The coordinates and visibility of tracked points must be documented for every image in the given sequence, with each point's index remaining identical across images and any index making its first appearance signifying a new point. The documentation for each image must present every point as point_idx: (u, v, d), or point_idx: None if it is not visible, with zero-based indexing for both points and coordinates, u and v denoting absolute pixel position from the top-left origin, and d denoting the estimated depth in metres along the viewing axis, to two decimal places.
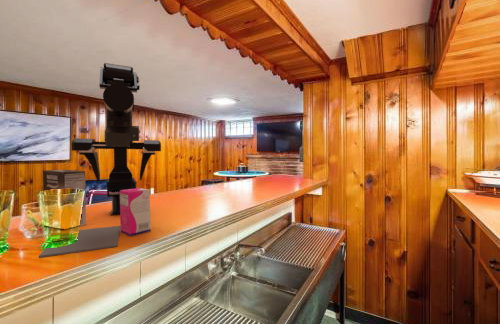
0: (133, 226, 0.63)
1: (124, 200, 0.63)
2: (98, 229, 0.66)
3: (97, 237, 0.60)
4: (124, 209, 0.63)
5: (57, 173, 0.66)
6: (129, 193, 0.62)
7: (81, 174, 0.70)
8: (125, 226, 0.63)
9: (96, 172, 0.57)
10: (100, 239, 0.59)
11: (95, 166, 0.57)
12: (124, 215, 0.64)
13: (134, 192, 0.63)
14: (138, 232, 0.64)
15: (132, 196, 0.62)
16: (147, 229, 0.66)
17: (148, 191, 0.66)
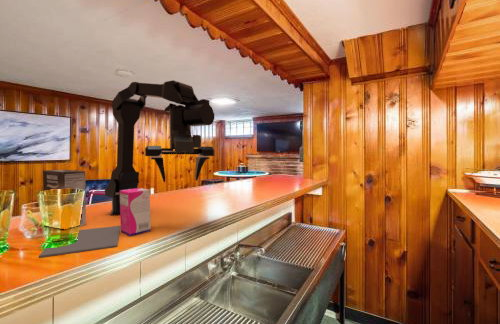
0: (133, 226, 0.63)
1: (124, 200, 0.63)
2: (98, 229, 0.66)
3: (97, 237, 0.60)
4: (124, 209, 0.63)
5: (57, 173, 0.66)
6: (129, 193, 0.62)
7: (81, 174, 0.70)
8: (125, 226, 0.63)
9: (163, 174, 0.67)
10: (100, 239, 0.59)
11: (162, 169, 0.67)
12: (124, 215, 0.64)
13: (134, 192, 0.63)
14: (138, 232, 0.64)
15: (132, 196, 0.62)
16: (147, 229, 0.66)
17: (148, 191, 0.66)
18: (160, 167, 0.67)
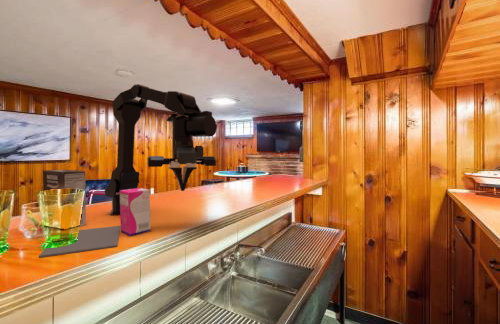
0: (133, 226, 0.63)
1: (124, 200, 0.63)
2: (98, 229, 0.66)
3: (97, 237, 0.60)
4: (124, 209, 0.63)
5: (57, 173, 0.66)
6: (129, 193, 0.62)
7: (81, 174, 0.70)
8: (125, 226, 0.63)
9: (181, 183, 0.70)
10: (100, 239, 0.59)
11: (181, 178, 0.70)
12: (124, 215, 0.64)
13: (134, 192, 0.63)
14: (138, 232, 0.64)
15: (132, 196, 0.62)
16: (147, 229, 0.66)
17: (148, 191, 0.66)
18: (178, 177, 0.69)
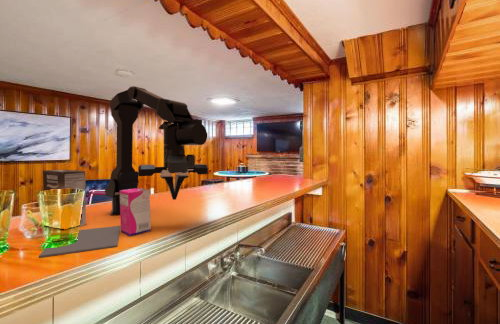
0: (133, 226, 0.63)
1: (124, 200, 0.63)
2: (98, 229, 0.66)
3: (97, 237, 0.60)
4: (124, 209, 0.63)
5: (57, 173, 0.66)
6: (129, 193, 0.62)
7: (81, 174, 0.70)
8: (125, 226, 0.63)
9: (172, 192, 0.69)
10: (100, 239, 0.59)
11: (172, 187, 0.69)
12: (124, 215, 0.64)
13: (134, 192, 0.63)
14: (138, 232, 0.64)
15: (132, 196, 0.62)
16: (147, 229, 0.66)
17: (148, 191, 0.66)
18: (170, 185, 0.68)
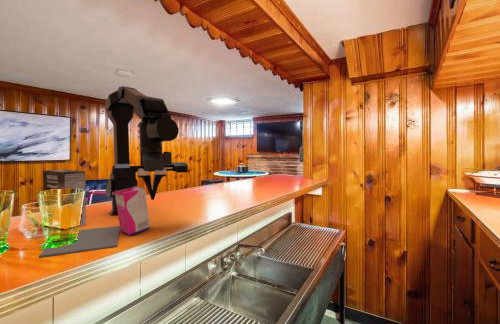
0: (132, 226, 0.62)
1: (120, 201, 0.63)
2: (98, 229, 0.66)
3: (97, 237, 0.60)
4: (121, 210, 0.63)
5: (57, 173, 0.66)
6: (124, 194, 0.61)
7: (81, 174, 0.70)
8: (124, 226, 0.63)
9: (150, 192, 0.66)
10: (100, 239, 0.59)
11: (150, 187, 0.66)
12: (122, 215, 0.63)
13: (129, 192, 0.62)
14: (138, 231, 0.64)
15: (127, 196, 0.62)
16: (147, 227, 0.65)
17: (143, 189, 0.65)
18: (147, 185, 0.65)
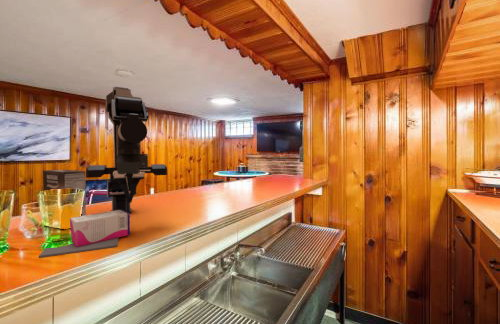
0: (120, 233, 0.60)
1: None
2: None
3: None
4: None
5: (57, 173, 0.66)
6: (78, 245, 0.54)
7: (81, 174, 0.70)
8: None
9: (127, 194, 0.64)
10: None
11: (126, 189, 0.64)
12: None
13: (77, 240, 0.54)
14: (128, 226, 0.62)
15: (82, 241, 0.55)
16: (127, 217, 0.61)
17: (78, 223, 0.54)
18: (123, 187, 0.63)
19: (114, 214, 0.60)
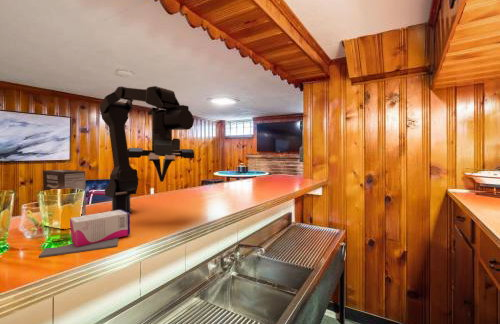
0: (120, 233, 0.60)
1: None
2: None
3: None
4: None
5: (57, 173, 0.66)
6: (78, 245, 0.54)
7: (81, 174, 0.70)
8: None
9: (159, 174, 0.73)
10: None
11: (159, 170, 0.73)
12: None
13: (77, 240, 0.54)
14: (128, 226, 0.62)
15: (82, 241, 0.55)
16: (127, 217, 0.61)
17: (78, 223, 0.54)
18: (157, 168, 0.73)
19: (114, 214, 0.60)
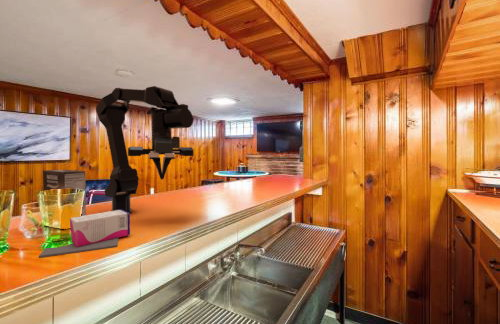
0: (120, 233, 0.60)
1: None
2: None
3: None
4: None
5: (57, 173, 0.66)
6: (78, 245, 0.54)
7: (81, 174, 0.70)
8: None
9: (160, 172, 0.75)
10: None
11: (160, 168, 0.74)
12: None
13: (77, 240, 0.54)
14: (128, 226, 0.62)
15: (82, 241, 0.55)
16: (127, 217, 0.61)
17: (78, 223, 0.54)
18: (157, 166, 0.74)
19: (114, 214, 0.60)
